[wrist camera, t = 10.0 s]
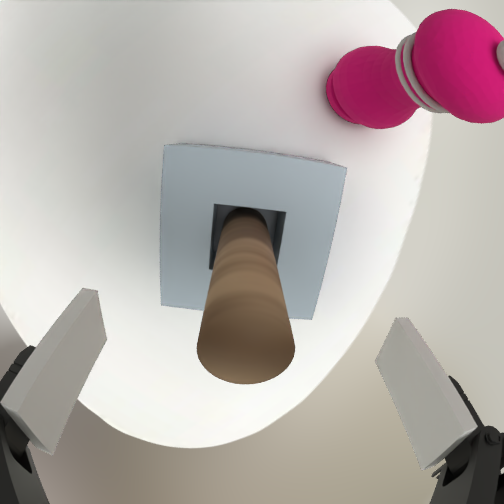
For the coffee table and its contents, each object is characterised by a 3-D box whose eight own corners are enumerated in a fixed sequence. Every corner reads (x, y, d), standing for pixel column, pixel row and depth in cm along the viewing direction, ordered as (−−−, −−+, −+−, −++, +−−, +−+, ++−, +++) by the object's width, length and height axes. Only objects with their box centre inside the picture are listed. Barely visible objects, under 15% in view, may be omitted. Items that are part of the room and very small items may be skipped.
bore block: (179, 143, 24) (164, 145, 20) (329, 161, 25) (347, 167, 21) (172, 279, 30) (161, 305, 25) (302, 292, 31) (311, 319, 26)
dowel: (225, 203, 26) (197, 308, 10) (269, 208, 26) (304, 317, 11) (221, 244, 27) (196, 379, 12) (263, 249, 27) (284, 386, 12)
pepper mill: (399, 87, 22) (567, 70, 4) (370, 143, 25) (548, 183, 6) (339, 46, 21) (477, -49, 2) (307, 103, 23) (450, 45, 5)
